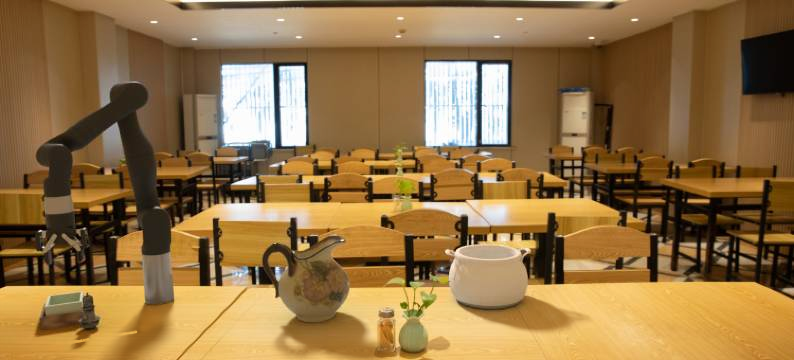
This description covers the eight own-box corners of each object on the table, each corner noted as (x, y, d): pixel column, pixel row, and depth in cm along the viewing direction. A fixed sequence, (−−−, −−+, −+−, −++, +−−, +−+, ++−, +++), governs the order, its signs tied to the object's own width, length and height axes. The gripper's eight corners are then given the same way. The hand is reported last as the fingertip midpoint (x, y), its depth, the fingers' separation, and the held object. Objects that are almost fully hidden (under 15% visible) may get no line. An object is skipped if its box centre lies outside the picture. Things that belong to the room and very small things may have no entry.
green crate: (84, 310, 199) (83, 291, 198) (83, 321, 188) (81, 301, 187) (50, 315, 195) (48, 295, 194) (46, 327, 184) (44, 306, 183)
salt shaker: (92, 334, 179) (89, 295, 178) (75, 333, 180) (71, 294, 179) (105, 327, 185) (102, 289, 183) (88, 326, 186) (85, 288, 185)
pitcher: (365, 313, 193) (362, 237, 190) (307, 336, 176) (302, 252, 173) (320, 299, 208) (316, 228, 205) (262, 319, 191) (258, 241, 188)
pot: (520, 286, 220) (521, 239, 217) (540, 311, 193) (541, 258, 191) (441, 288, 219) (441, 241, 216) (450, 313, 192) (450, 261, 190)
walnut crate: (90, 310, 201) (89, 297, 200) (89, 324, 187) (87, 311, 187) (45, 316, 195) (44, 303, 195) (40, 332, 182) (39, 318, 181)
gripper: (89, 207, 185) (94, 258, 187) (39, 209, 183) (44, 261, 185) (80, 211, 177) (85, 265, 179) (28, 214, 175) (33, 268, 178)
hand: (64, 263), depth 182 cm, fingers open, 8 cm apart
